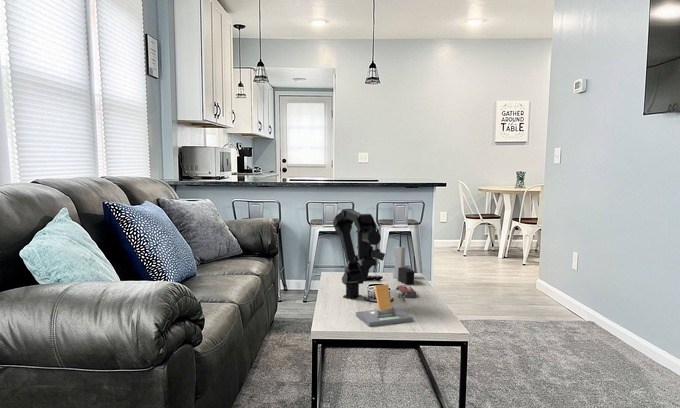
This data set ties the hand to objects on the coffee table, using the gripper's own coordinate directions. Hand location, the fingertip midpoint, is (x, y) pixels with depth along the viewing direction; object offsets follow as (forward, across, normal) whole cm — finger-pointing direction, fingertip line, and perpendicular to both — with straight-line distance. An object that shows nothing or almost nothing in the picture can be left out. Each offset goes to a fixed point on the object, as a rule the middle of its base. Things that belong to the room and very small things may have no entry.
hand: (365, 280), depth 188 cm
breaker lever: (+9, -18, -4) cm, 21 cm away
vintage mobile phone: (+7, +48, -28) cm, 56 cm away
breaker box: (+12, -16, -3) cm, 21 cm away
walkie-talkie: (+10, +13, -21) cm, 27 cm away
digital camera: (+8, +38, -29) cm, 49 cm away
